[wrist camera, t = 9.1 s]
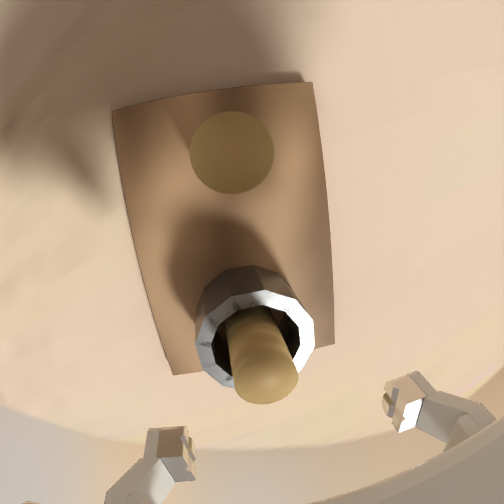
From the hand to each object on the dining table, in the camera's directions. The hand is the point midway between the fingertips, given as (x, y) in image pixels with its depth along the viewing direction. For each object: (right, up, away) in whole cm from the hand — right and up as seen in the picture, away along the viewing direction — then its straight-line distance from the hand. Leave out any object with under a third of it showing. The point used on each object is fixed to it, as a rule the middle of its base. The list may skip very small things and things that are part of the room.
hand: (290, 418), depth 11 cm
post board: (-3, +7, +9) cm, 12 cm away
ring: (-2, +3, +9) cm, 10 cm away
